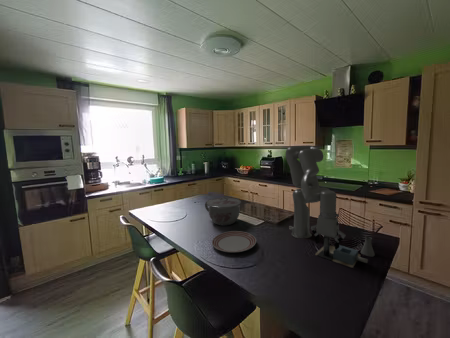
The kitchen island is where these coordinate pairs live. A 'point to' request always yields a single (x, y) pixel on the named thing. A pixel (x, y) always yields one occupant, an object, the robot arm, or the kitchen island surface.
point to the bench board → (335, 259)
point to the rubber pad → (325, 256)
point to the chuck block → (347, 255)
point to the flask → (367, 247)
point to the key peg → (326, 246)
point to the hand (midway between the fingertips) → (326, 245)
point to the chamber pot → (223, 210)
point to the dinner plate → (234, 241)
